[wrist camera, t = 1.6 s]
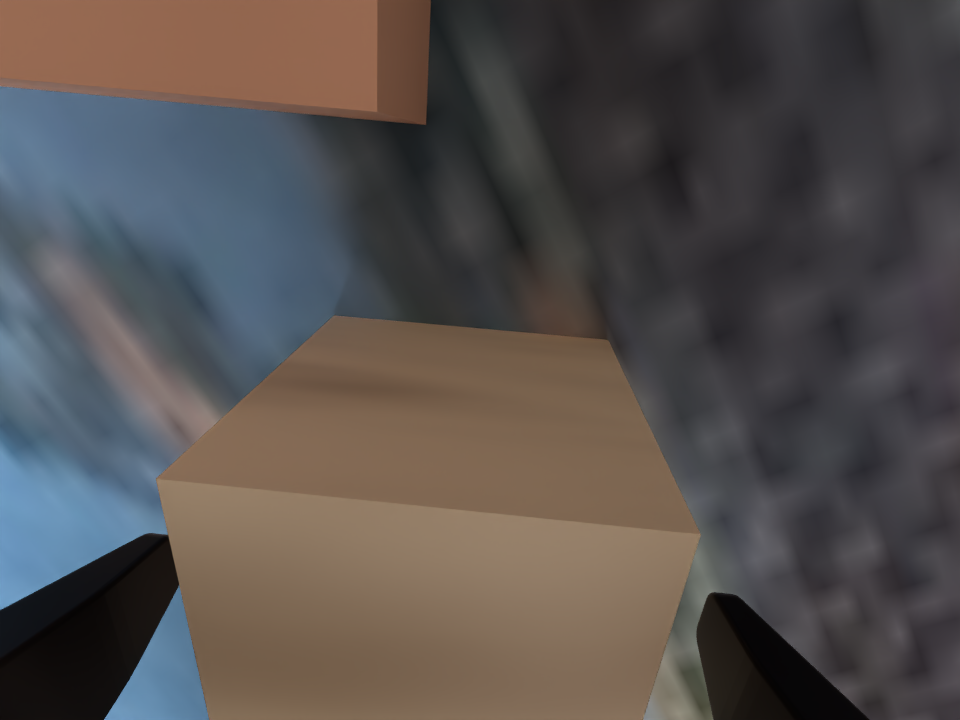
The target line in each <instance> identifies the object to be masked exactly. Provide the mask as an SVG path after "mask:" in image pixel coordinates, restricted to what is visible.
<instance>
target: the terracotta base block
mask: <svg viewBox="0 0 960 720" xmlns="http://www.w3.org/2000/svg"><path fill="white" fill-rule="evenodd" d="M430 9H431V0H0V86H2V87H13V88H24V89H35V90H46V91H58V92H69V93H80V94H91V95H102V96H113V97H124V98H135V99H146V100H157V101H168V102H179V103H190V104H201V105H212V106H223V107H234V108H245V109H256V110H267V111H278V112H289V113H300V114H311V115H322V116H333V117H344V118H355V119H366V120H377V121H388V122H399V123H410V124H421V125H426V114H427V88H428V62H429V35H430Z"/></svg>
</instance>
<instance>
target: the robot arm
mask: <svg viewBox="0 0 960 720" xmlns="http://www.w3.org/2000/svg"><path fill="white" fill-rule="evenodd" d="M178 586H179V581H178V576H177V572H176V567H175V563H174V558H173V554H172V549H171V545H170V540H169V536H168V535H164V534H155V533H148V534H144V535H142V536H140V537H138V538H136V539H134V540H132V541H131V542H129V543H127V544H125V545H123V546H121V547H119V548H117V549H115V550H114V551H112V552H110V553H108V554H106V555H104V556H102V557H100V558H98V559H96V560H95V561H93V562H91V563H89V564H87V565H85V566H83V567H81V568H79V569H78V570H76V571H74V572H72V573H70V574H68V575H66V576H64V577H62V578H60V579H59V580H57V581H55V582H53V583H51V584H49V585H47V586H45V587H43V588H41V589H40V590H38V591H36V592H34V593H32V594H30V595H28V596H26V597H24V598H23V599H21V600H19V601H17V602H15V603H13V604H11V605H9V606H7V607H5V608H4V609H2V610H0V720H104V719H105V717H106V716H107V714H108V713H109V711H110V709H111V708H112V706H113V705H114V703H115V702H116V700H117V698H118V697H119V695H120V694H121V692H122V691H123V689H124V687H125V686H126V684H127V682H128V681H129V679H130V677H131V676H132V674H133V672H134V670H135V668H136V667H137V665H138V663H139V661H140V659H141V657H142V655H143V653H144V652H145V650H146V648H147V646H148V644H149V642H150V640H151V638H152V636H153V634H154V632H155V630H156V629H157V627H158V625H159V623H160V621H161V619H162V617H163V615H164V613H165V611H166V609H167V608H168V606H169V604H170V602H171V600H172V598H173V596H174V594H175V592H176V590H177V588H178ZM696 637H697V644H698V649H699V654H700V658H701V663H702V668H703V672H704V677H705V682H706V687H707V691H708V696H709V701H710V705H711V710H712V715H713V719H714V720H870V719H868V718H867V717H866V716H865V715H864V714H863V713H862V712H861V711H860V710H859V709H858V708H857V707H856V706H855V705H854V704H853V703H851V702H850V701H849V700H848V699H847V698H846V697H845V696H844V695H843V694H842V693H841V692H840V691H839V690H838V689H837V688H835V687H834V686H833V685H832V684H831V683H830V682H829V681H828V680H827V679H826V678H825V677H824V676H823V675H822V674H821V673H820V672H818V671H817V670H816V669H815V668H814V667H813V666H812V665H811V664H810V663H809V662H808V661H807V660H806V659H805V658H804V657H803V656H801V655H800V654H799V653H798V652H797V651H796V650H795V649H794V648H793V647H792V646H791V645H790V644H789V643H788V642H787V641H785V640H784V639H783V638H782V637H781V636H780V635H779V634H778V633H777V632H776V631H775V630H774V629H773V628H772V627H771V626H770V625H768V624H767V623H766V622H765V621H764V620H763V619H762V618H761V617H760V616H759V615H758V614H757V613H756V612H755V611H754V610H753V609H751V608H750V607H749V606H748V605H747V604H746V603H745V602H744V601H743V600H742V599H741V598H739V597H738V596H736V595H733V594H725V593H716V592H713V593H710V594H709V595H708V597H707V599H706V602H705V605H704V608H703V611H702V614H701V617H700V620H699V622H698V626H697V632H696Z"/></svg>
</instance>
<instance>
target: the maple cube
mask: <svg viewBox="0 0 960 720" xmlns="http://www.w3.org/2000/svg"><path fill="white" fill-rule="evenodd" d="M156 482H157V486H158V491H159V495H160V500H161V504H162V509H163V513H164V518H165V522H166V527H167V531H168V536H169V540H170V545H171V549H172V554H173V558H174V563H175V567H176V572H177V576H178V581H179V585H180V590H181V594H182V599H183V603H184V608H185V612H186V617H187V621H188V626H189V630H190V635H191V640H192V644H193V649H194V653H195V658H196V662H197V667H198V671H199V676H200V680H201V685H202V689H203V694H204V698H205V703H206V707H207V712H208V716H209V720H643V718H644V714H645V711H646V708H647V705H648V702H649V698H650V695H651V692H652V689H653V686H654V682H655V679H656V676H657V673H658V670H659V667H660V663H661V660H662V657H663V654H664V651H665V647H666V644H667V641H668V638H669V635H670V631H671V628H672V625H673V622H674V619H675V615H676V612H677V609H678V606H679V603H680V600H681V596H682V593H683V590H684V587H685V584H686V580H687V577H688V574H689V571H690V568H691V564H692V561H693V558H694V555H695V552H696V548H697V545H698V542H699V539H700V536H701V534H700V532H699V530H698V528H697V526H696V523H695V521H694V519H693V517H692V515H691V513H690V511H689V509H688V507H687V505H686V502H685V500H684V498H683V496H682V494H681V492H680V490H679V488H678V486H677V484H676V481H675V479H674V477H673V475H672V473H671V471H670V469H669V467H668V465H667V463H666V460H665V458H664V456H663V454H662V452H661V450H660V448H659V446H658V444H657V442H656V440H655V437H654V435H653V433H652V431H651V429H650V427H649V425H648V423H647V421H646V419H645V416H644V414H643V412H642V410H641V408H640V406H639V404H638V402H637V400H636V398H635V395H634V393H633V391H632V389H631V387H630V385H629V383H628V381H627V379H626V377H625V374H624V372H623V370H622V368H621V366H620V364H619V362H618V360H617V358H616V356H615V353H614V351H613V349H612V347H611V345H610V343H609V341H608V340H604V339H593V338H581V337H570V336H559V335H548V334H537V333H526V332H515V331H503V330H492V329H481V328H470V327H459V326H448V325H436V324H425V323H414V322H403V321H392V320H381V319H369V318H358V317H347V316H336V315H334V316H333V317H332V318H330V319H329V320H328V321H327V322H326V323H325V324H324V325H323V326H322V327H321V328H320V329H318V330H317V331H316V332H315V333H314V334H313V335H312V336H311V337H310V338H309V339H308V340H306V341H305V342H304V343H303V344H302V345H301V346H300V347H299V348H298V349H297V350H296V351H295V352H293V353H292V354H291V355H290V356H289V357H288V358H287V359H286V360H285V361H284V362H283V363H281V364H280V365H279V366H278V367H277V368H276V369H275V370H274V371H273V372H272V373H271V374H269V375H268V376H267V377H266V378H265V379H264V380H263V381H262V382H261V383H260V384H259V385H257V386H256V387H255V388H254V389H253V390H252V391H251V392H250V393H249V394H248V395H247V396H245V397H244V398H243V399H242V400H241V401H240V402H239V403H238V404H237V405H236V406H235V407H234V408H232V409H231V410H230V411H229V412H228V413H227V414H226V415H225V416H224V417H223V418H222V419H220V420H219V421H218V422H217V423H216V424H215V425H214V426H213V427H212V428H211V429H210V430H208V431H207V432H206V433H205V434H204V435H203V436H202V437H201V438H200V439H199V440H198V441H196V442H195V443H194V444H193V445H192V446H191V447H190V448H189V449H188V450H187V451H186V452H185V453H183V454H182V455H181V456H180V457H179V458H178V459H177V460H176V461H175V462H174V463H173V464H171V465H170V466H169V467H168V468H167V469H166V470H165V471H164V472H163V473H162V474H161V475H159V476H158V477H157V478H156Z"/></svg>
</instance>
